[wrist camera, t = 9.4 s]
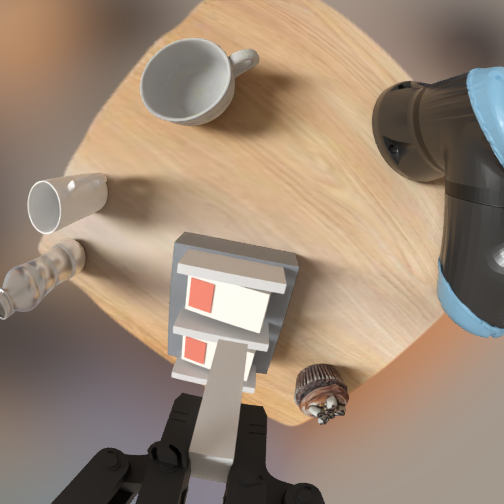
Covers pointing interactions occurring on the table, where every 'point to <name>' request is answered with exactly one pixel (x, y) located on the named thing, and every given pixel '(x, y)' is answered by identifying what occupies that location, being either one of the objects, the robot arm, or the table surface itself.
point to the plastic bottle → (40, 277)
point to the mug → (66, 200)
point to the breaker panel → (232, 272)
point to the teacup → (192, 80)
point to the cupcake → (321, 392)
